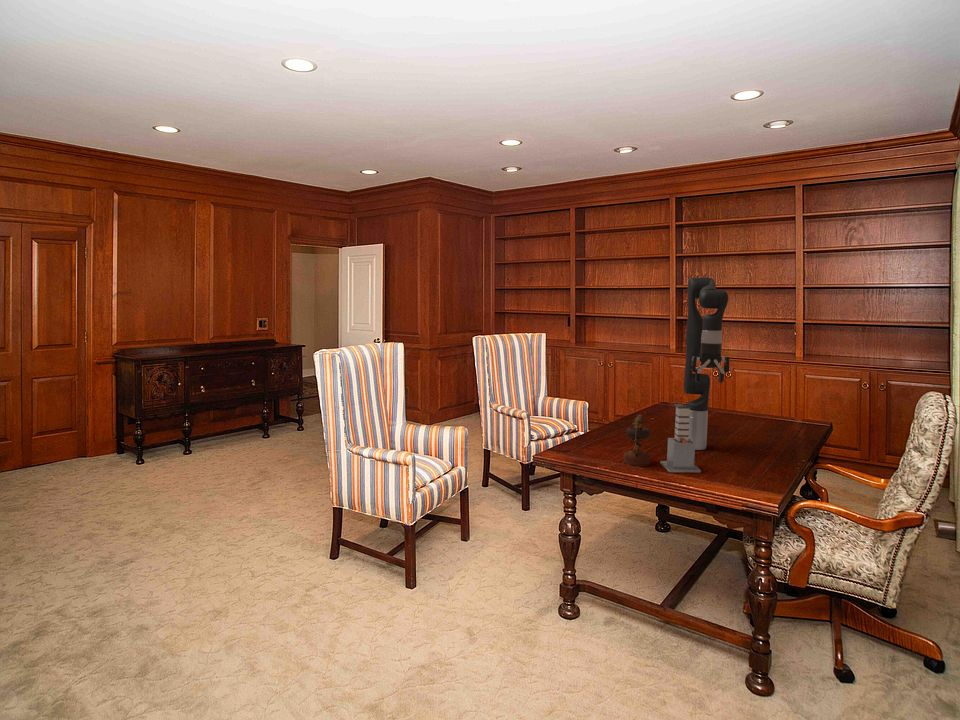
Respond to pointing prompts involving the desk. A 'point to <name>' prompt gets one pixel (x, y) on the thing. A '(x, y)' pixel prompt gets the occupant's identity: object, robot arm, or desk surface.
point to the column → (682, 422)
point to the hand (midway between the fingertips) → (709, 382)
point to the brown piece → (637, 444)
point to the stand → (680, 456)
